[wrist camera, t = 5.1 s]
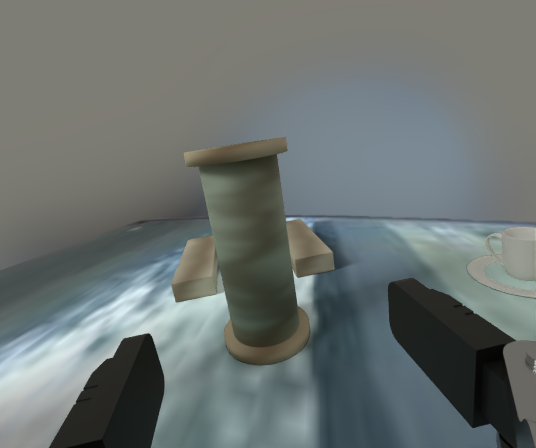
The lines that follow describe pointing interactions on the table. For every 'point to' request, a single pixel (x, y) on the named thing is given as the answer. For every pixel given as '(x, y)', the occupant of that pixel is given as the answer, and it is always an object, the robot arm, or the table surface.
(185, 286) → the tan u-shaped bracket
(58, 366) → the table surface
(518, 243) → the white curved piece
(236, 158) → the bobbin
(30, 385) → the table surface
